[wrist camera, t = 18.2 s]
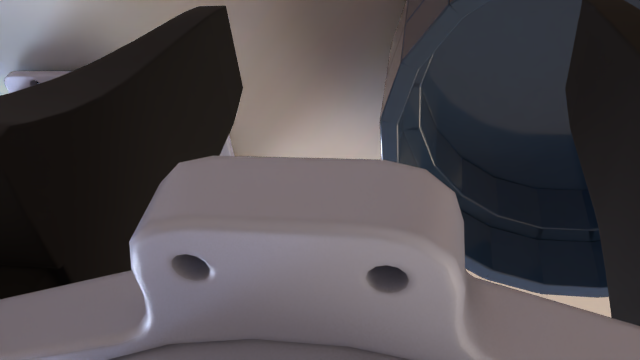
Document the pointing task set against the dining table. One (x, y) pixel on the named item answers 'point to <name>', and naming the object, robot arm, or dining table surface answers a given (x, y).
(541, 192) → the bowl
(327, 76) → the dining table surface
